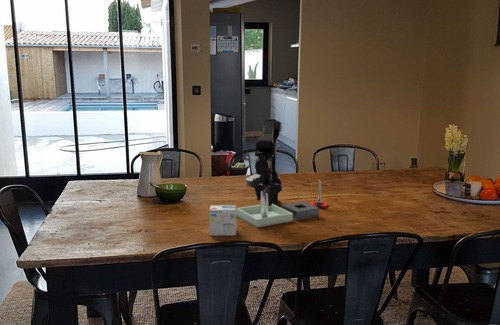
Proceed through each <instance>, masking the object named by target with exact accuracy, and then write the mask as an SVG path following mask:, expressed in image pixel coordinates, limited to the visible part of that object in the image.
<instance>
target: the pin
mask: <svg viewBox="0 0 500 325" xmlns="http://www.w3.org/2000/svg"><path fill="white" fill-rule="evenodd" d="M265 191H266V190H261V200H260V205H261V214H260V217H261V218H266V217H268V194H267V193H266V192H265Z"/></svg>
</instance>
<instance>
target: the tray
mask: <svg viewBox="0 0 500 325" xmlns="http://www.w3.org/2000/svg"><path fill="white" fill-rule="evenodd" d="M260 214H261V204H257V205H256V204H255V205H249V206H244V207H243V206H241V207H236V216H237V218H239V219H241V220H243V221H244V222H246V223H248V224H249V225H251V226H253V227H254V228H256V229H258V228H262V227H269V226H274V225H279V224H285V223H286V224H287V223H291V222H294V219H293V213H291V212H289V211H286V210H284V209H282V207H281V206H278V205H276V204H275V203H272V205H271V206H269V204H268V217H266V218H261V217H260Z"/></svg>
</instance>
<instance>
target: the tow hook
mask: <svg viewBox="0 0 500 325" xmlns="http://www.w3.org/2000/svg"><path fill="white" fill-rule="evenodd" d="M318 184H319V185H318V196H317V201H312V202H310V203H309V204H311V205H313V206H315V207H318V208H319V209H327V207H328V206H329V203H328V202H325V201H322V181H321V180H319V182H318Z"/></svg>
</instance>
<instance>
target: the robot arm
mask: <svg viewBox="0 0 500 325" xmlns="http://www.w3.org/2000/svg"><path fill="white" fill-rule="evenodd" d="M282 127H283V125H282V122H281V121H280V120H277V119H275V118H265V119H264V120H263V121H262V130H263V132H262V134H261V136H259V137H258V139H257V141H256V143H255V150H254V151H255V152H254V157H257V158H258V159H257V160H256V162H255V164H254V168H255V174H252V175H251V176H248V177H247V178H245V181H246V185H247V186H248V187H250V188H252V189H254V192H255V195H256V198H257V201H260V202H261V190H266V191H265V192H266V193H267V194H268V204H269V206H271V205H272V204H276V203H281V200H279V193H281V192H282V191H283V185H282V183H283V182H282V180H281V178H280V174H279V172H278V170H277V142H278V140H277V139H279V136H280V135H281V132H282V129H283V128H282Z"/></svg>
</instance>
